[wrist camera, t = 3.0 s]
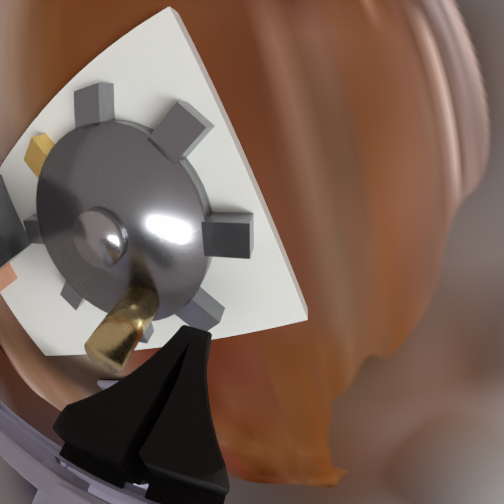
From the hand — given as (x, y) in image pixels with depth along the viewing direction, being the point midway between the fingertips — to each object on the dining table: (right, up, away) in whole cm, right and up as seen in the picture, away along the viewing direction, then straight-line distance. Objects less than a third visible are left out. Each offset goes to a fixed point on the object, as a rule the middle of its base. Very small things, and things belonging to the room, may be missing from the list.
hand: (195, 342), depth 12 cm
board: (-11, +4, +4) cm, 12 cm away
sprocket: (-5, +6, +1) cm, 7 cm away
